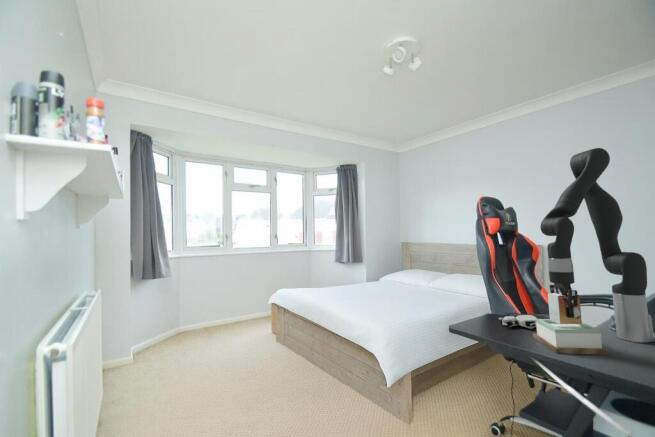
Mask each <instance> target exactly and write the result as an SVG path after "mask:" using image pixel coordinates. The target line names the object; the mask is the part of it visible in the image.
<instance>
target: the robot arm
mask: <svg viewBox="0 0 655 437" xmlns="http://www.w3.org/2000/svg"><path fill="white" fill-rule="evenodd" d="M610 162H611V157H610V154H609V152H608V150H606V149H604V148H602V147H596V148H591V149H587V150H585V151H581V152H579V153H576V154H574V155H572V156H571V157H570V160H569V166H570V167H569V168H570V170H571V172H572V174H573V177H574V178H575V180H574V181H573V182H571V184H569V185H568V186H567V187H566V189H564V190H563V192H562V193H561V194H560V195H559V198H558V200H557V201H556V204H555V205H554V207H553V208H552V209H550V211H549V212H548V213H547V214H546V215H545V217H544V218H543V219H542V220H541V221H540V231H541V233H542V234H543V235H545V236H548V237H555V240H554V241H553V242H550V243H548V244H547V248H546V249H547V268H548V277H549V278H548V280H549V282H550V283H551V284H549V292H550V293H558V294H560V295H565V296H568V298H565V297H563V300H564V301H565V306H566V316H567V317H568V318H574V309H573V308H574V307H577V306H578V300H577V295H578V290H576V289H573V288H572V286H571V285H572V284H575V282H576V281H575V273H574V263H573V259H572V252H571V245H572V243H573V242H572V241H573V237H574V233H575V225H574V222H573V220H572V219H570V218H572V217H575V215H576V214H577V212H578V210H579V208H580V206H581V204H582V203H583V200H584V201H585V204H586V207H587V208H586V209H587V212H588V213H589V217H590V220H591V223H592V225H593V227H594V230H595V235H596V237H597V238H596V239H597V241H598V245H599V250H600V254H601V260H602V263H603V266H604V268H605V270H606V271H607V272H609V274H612V275H617V276H621V277H622V279H621V282H619V283H616V284H612V286H611V292H612V304H613V311H614V312H613V313H614V320H615V323H614V324H615V332H616V337H617V338H619V339H621V340H624V341H628V342H634V343H650V342H655V337H654V336H655V335H654V330H653V326H654V325H653V319H652V315H651V314H649V311H648V305H647V303H648V302H647V295H646V290H647V288H648V270H647V269H648V268H647V262H646V260H645V258H644V256H643V255H642V254H640V253H639V252H632V251H631V252H630V251H622V249H621V247H620V244H619V240H618V239H619V238H618V237H619V232H620V230H621V226H622V225H623V219H624V218H623V213H622V210H621V208H620V204H619V202H618V201H617V199H616V198H615V197H614V196H612V195H611V194H610V193H609V192H607V191H606V190H605V189H603V187H601V186H600V185H599V183H598V182H597V181H598V180H599V179H600V177H601V175H602V174H603V173H604V172H605V170H606V169H607V167H608V166H609V164H610ZM573 300H574V302H573ZM567 301H568V303H567Z"/></svg>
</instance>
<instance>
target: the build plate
mask: <svg viewBox="0 0 655 437" xmlns="http://www.w3.org/2000/svg"><path fill="white" fill-rule="evenodd" d="M532 338H534V339H535V340H536V341H538V342H539V343H541V344H542V345H544V346H545V347H547V348H548V349H549V350H550V351H552V352H554V353H555V354H569V355H573V354H574V355H606V356H607V355H608V356H609V355H610V350H609V349H607V348H605V347H604V346H602V348H561V347H555V346H554V345H552V344H551V343H549V342H548V341H546V340H544V339H543V338H541V337H540V336H538V335H537V333H532Z"/></svg>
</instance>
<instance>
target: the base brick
mask: <svg viewBox="0 0 655 437" xmlns="http://www.w3.org/2000/svg"><path fill="white" fill-rule="evenodd" d="M536 326H537V327H536V334H537V335H538V336H540V337H541V338H543V339H544V340H546V341H548V342H549V343H551V344H552V345H554V346H555V347H561V348H602V347H603V346H602V343H603V342H602V335H601V334H602V333H601V329H599V328H596V327H594V326H592V325H590V324H587V323H585V322H583V321H582V324H558V323H555V322H553V321H550V318H537V319H536Z"/></svg>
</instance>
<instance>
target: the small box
mask: <svg viewBox="0 0 655 437" xmlns="http://www.w3.org/2000/svg"><path fill="white" fill-rule="evenodd" d="M563 297H565V298H568V296H565V295H560V294H558V293H551V292H550V293H549V292H548V293H547V300H548V312H549V314H548V315H549V319H550V321H553V322H555V323H558V324H582V322H583V320H582V308H581V299H580V295H579V294H577V300H578V306H577V307H574V308H573V309H574V318H568V317H567V316H566V306H565V301H564V300H563ZM573 302H574V300H573ZM567 303H568V301H567Z"/></svg>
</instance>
